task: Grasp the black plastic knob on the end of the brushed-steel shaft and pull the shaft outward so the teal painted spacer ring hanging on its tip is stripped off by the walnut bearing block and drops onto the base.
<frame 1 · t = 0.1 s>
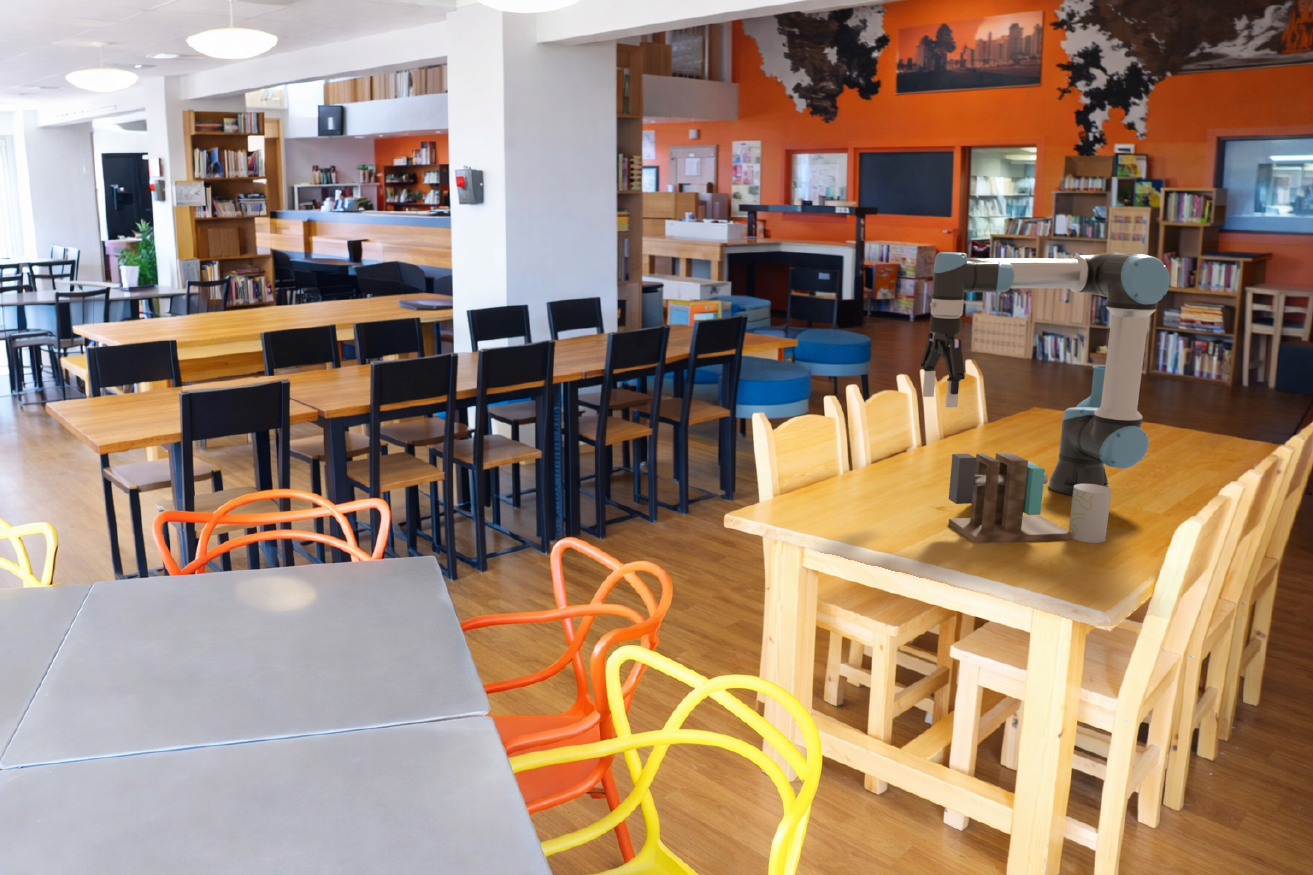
hand: (939, 401, 259), 28 cm above the table, fingers open, 13 cm apart
stand: (1008, 531, 249), on the table
shaft: (1000, 477, 245), point 14 cm above the table, slide at 0.0 cm, touching spacer
cup: (1086, 538, 246), on the table
spacer: (1022, 508, 248), point 6 cm above the table, touching shaft
vase: (1095, 441, 347), on the table
soda can: (984, 508, 269), on the table
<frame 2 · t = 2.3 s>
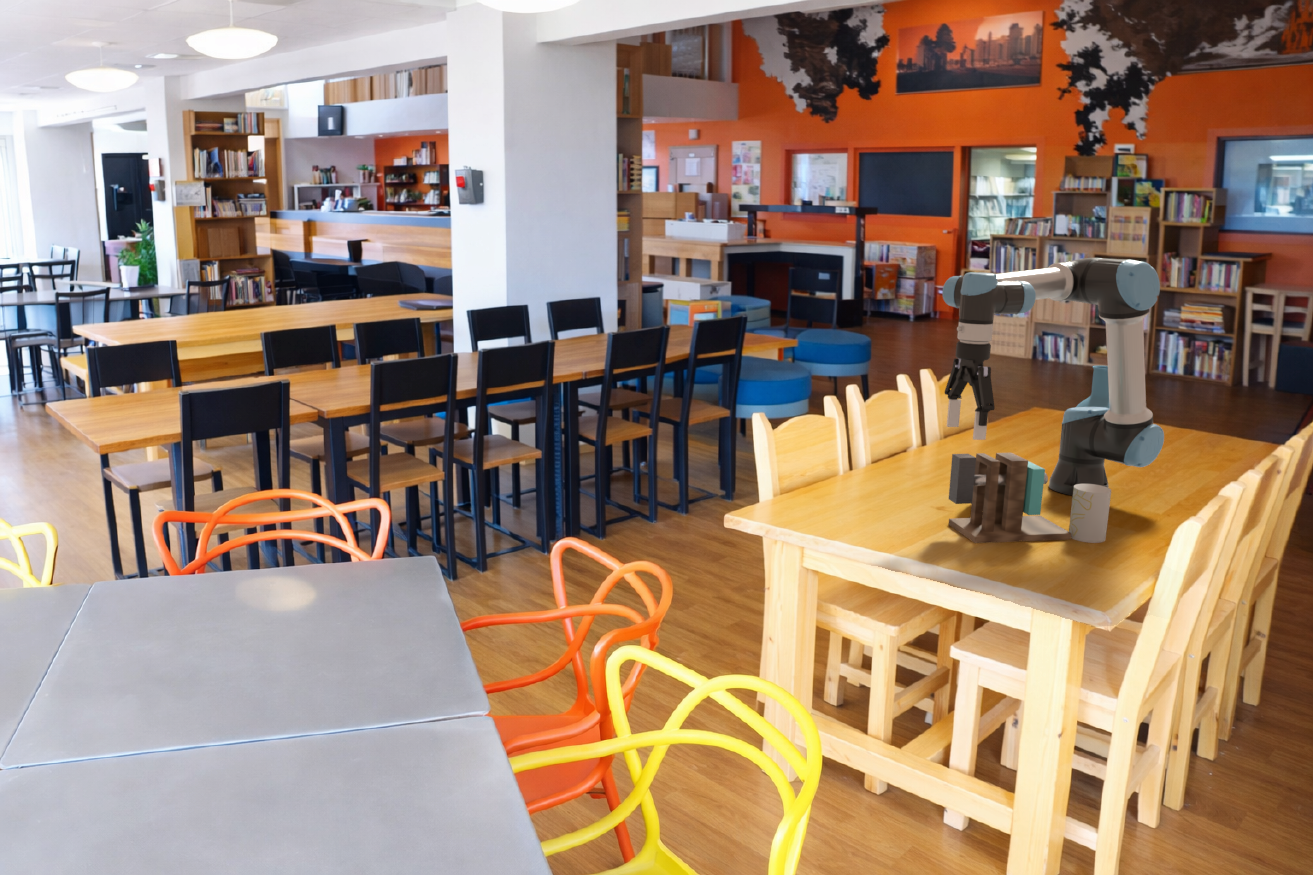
hand: (965, 432, 241), 24 cm above the table, fingers open, 13 cm apart
nothing on the table moved.
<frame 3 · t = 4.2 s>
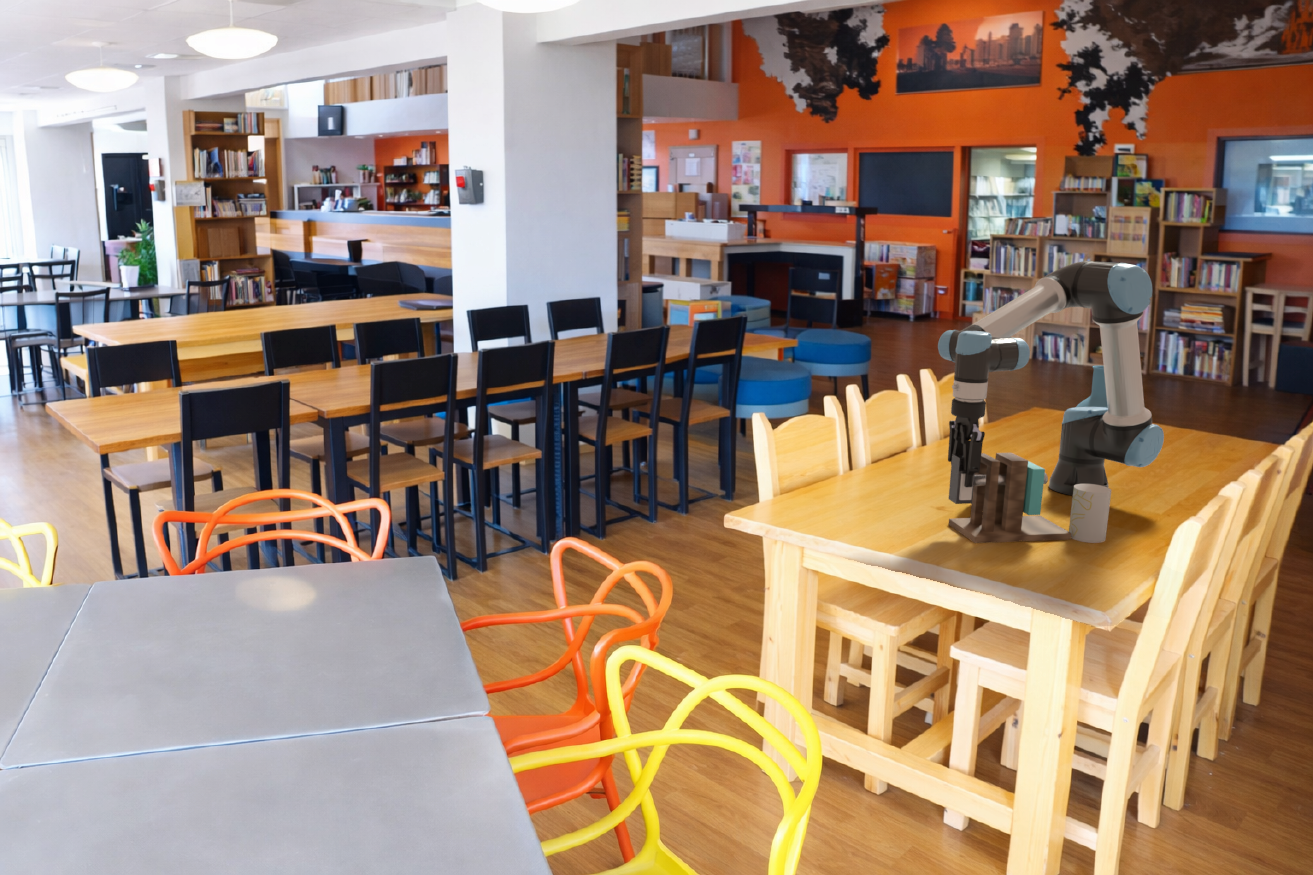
hand: (960, 496, 245), 9 cm above the table, fingers closed on shaft, 4 cm apart
shaft: (1000, 477, 245), point 14 cm above the table, slide at 0.0 cm, touching gripper, spacer
everything else where it was.
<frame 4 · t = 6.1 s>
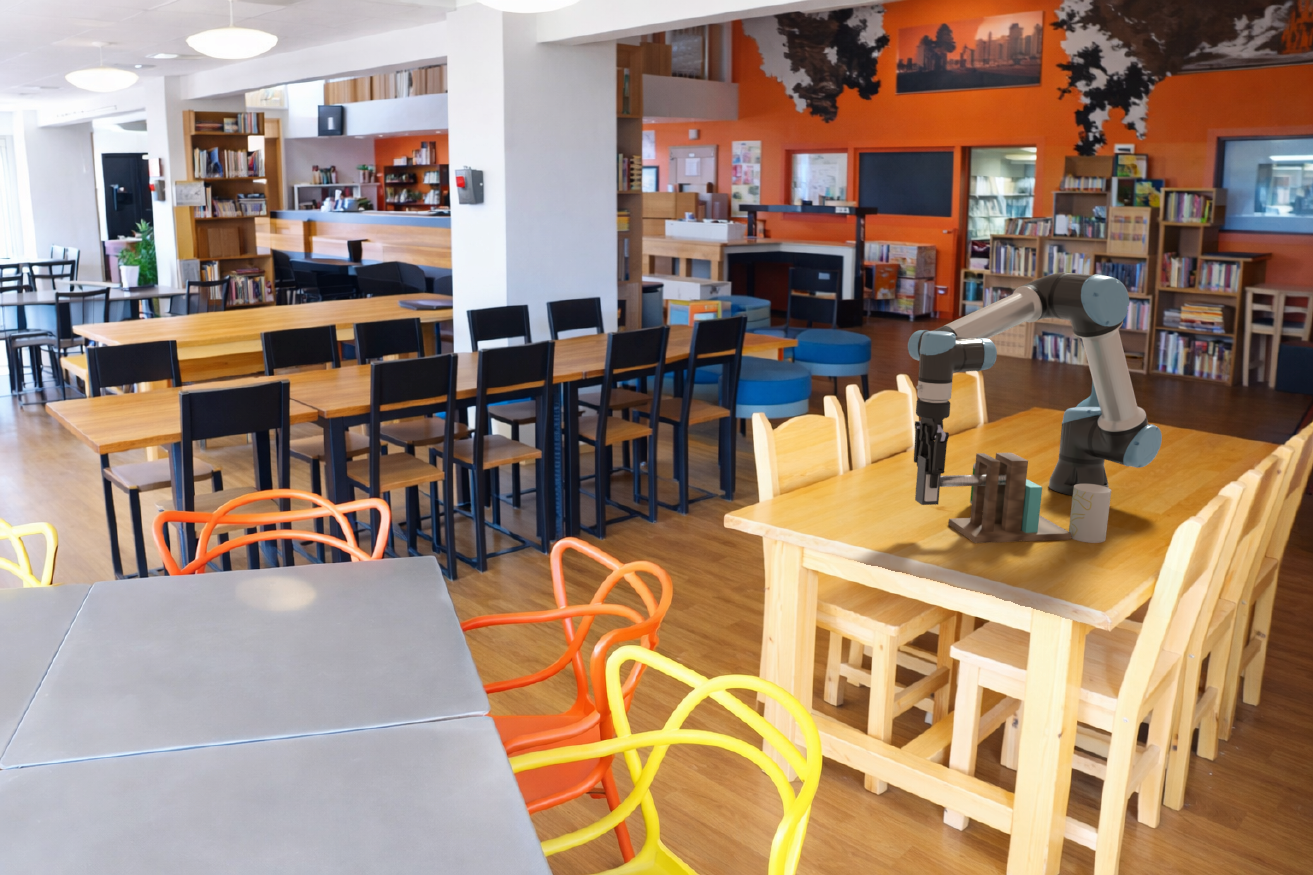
hand: (926, 497, 243), 9 cm above the table, fingers closed on shaft, 4 cm apart
shaft: (966, 478, 244), point 14 cm above the table, slide at 8.4 cm, touching gripper
spacer: (1019, 525, 249), point 1 cm above the table, touching stand
everything else where it was.
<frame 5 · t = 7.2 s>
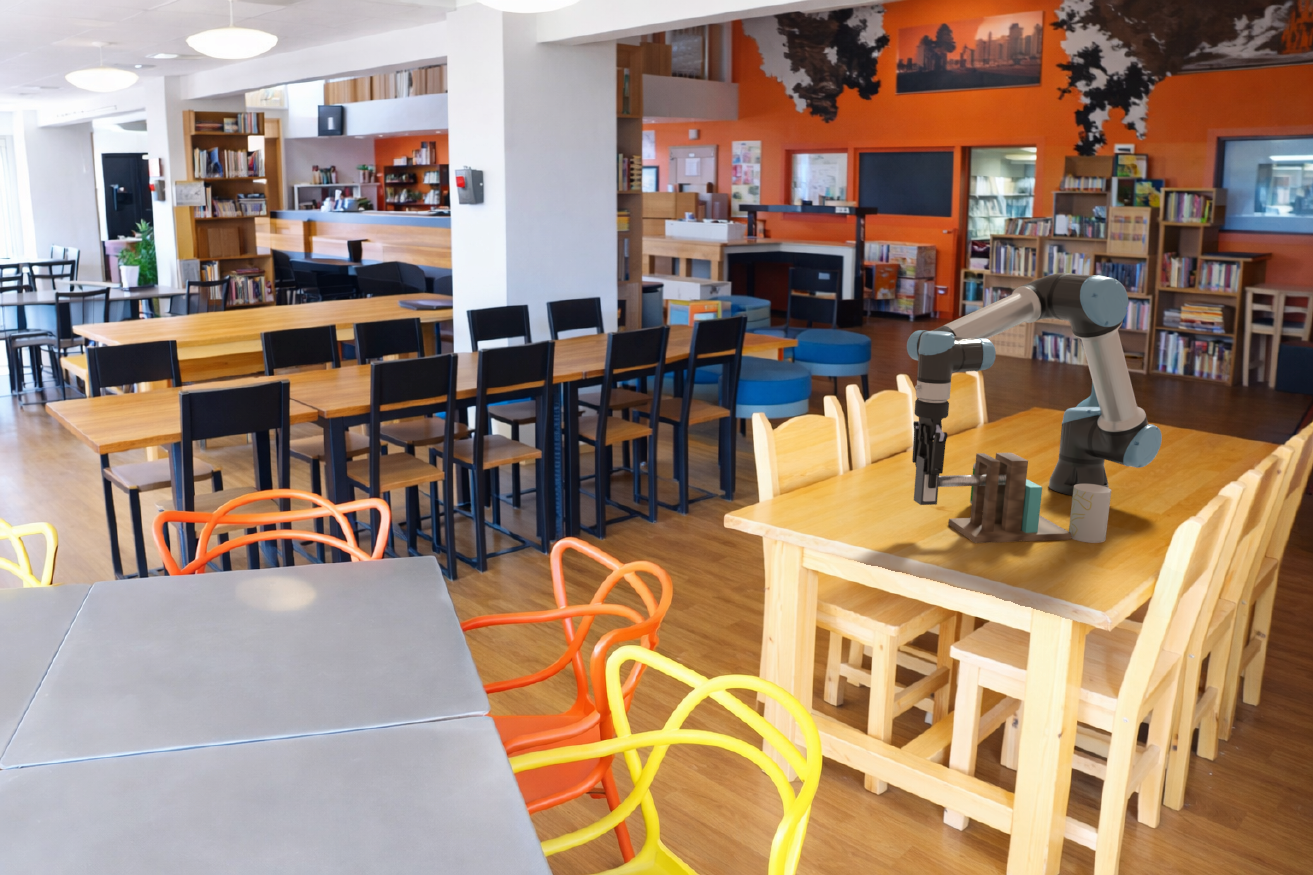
hand: (924, 497, 243), 9 cm above the table, fingers closed on shaft, 4 cm apart
shaft: (965, 478, 244), point 14 cm above the table, slide at 8.7 cm, touching gripper
everything else where it was.
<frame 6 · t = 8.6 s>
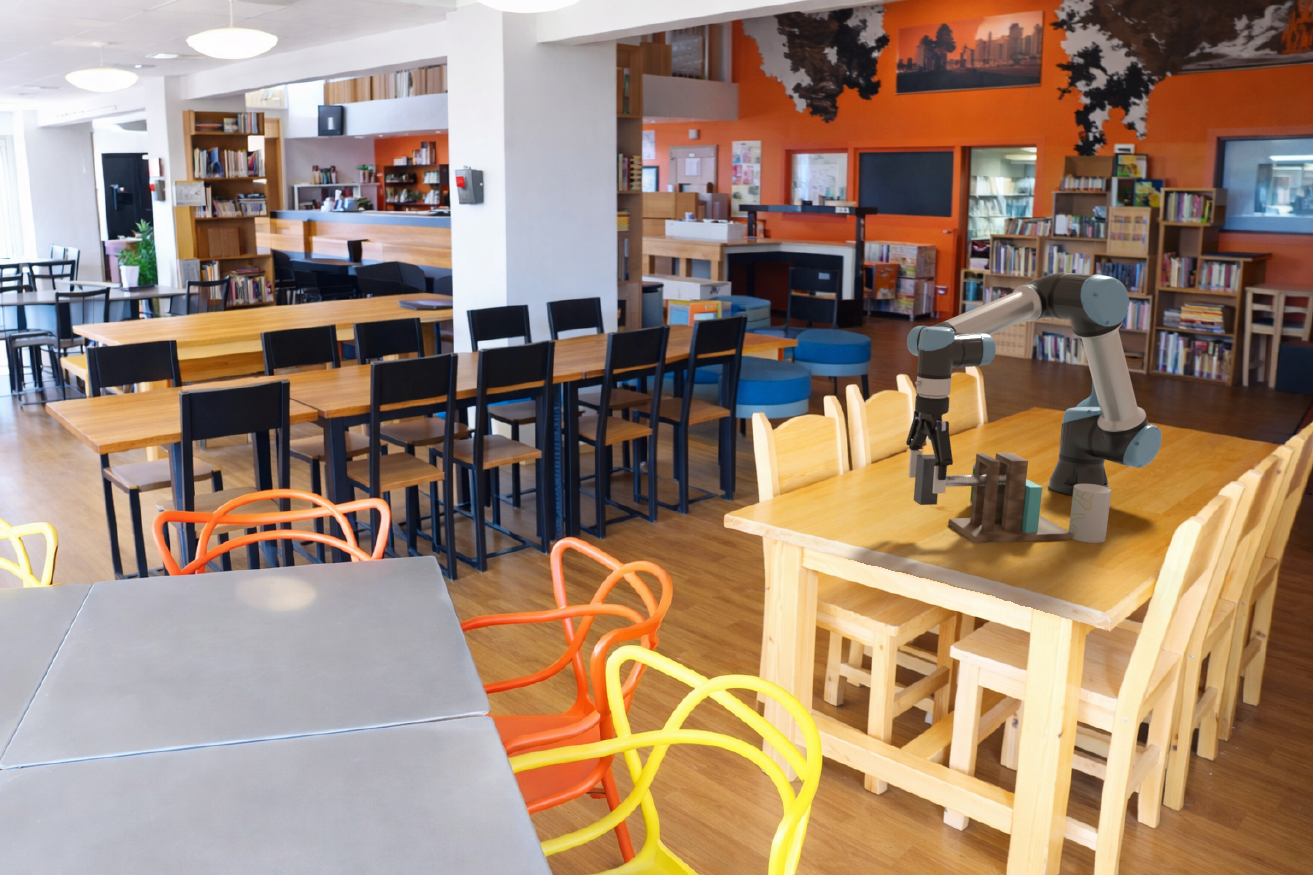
hand: (926, 484, 242), 12 cm above the table, fingers open, 13 cm apart
shaft: (965, 478, 244), point 14 cm above the table, slide at 8.7 cm
everything else where it was.
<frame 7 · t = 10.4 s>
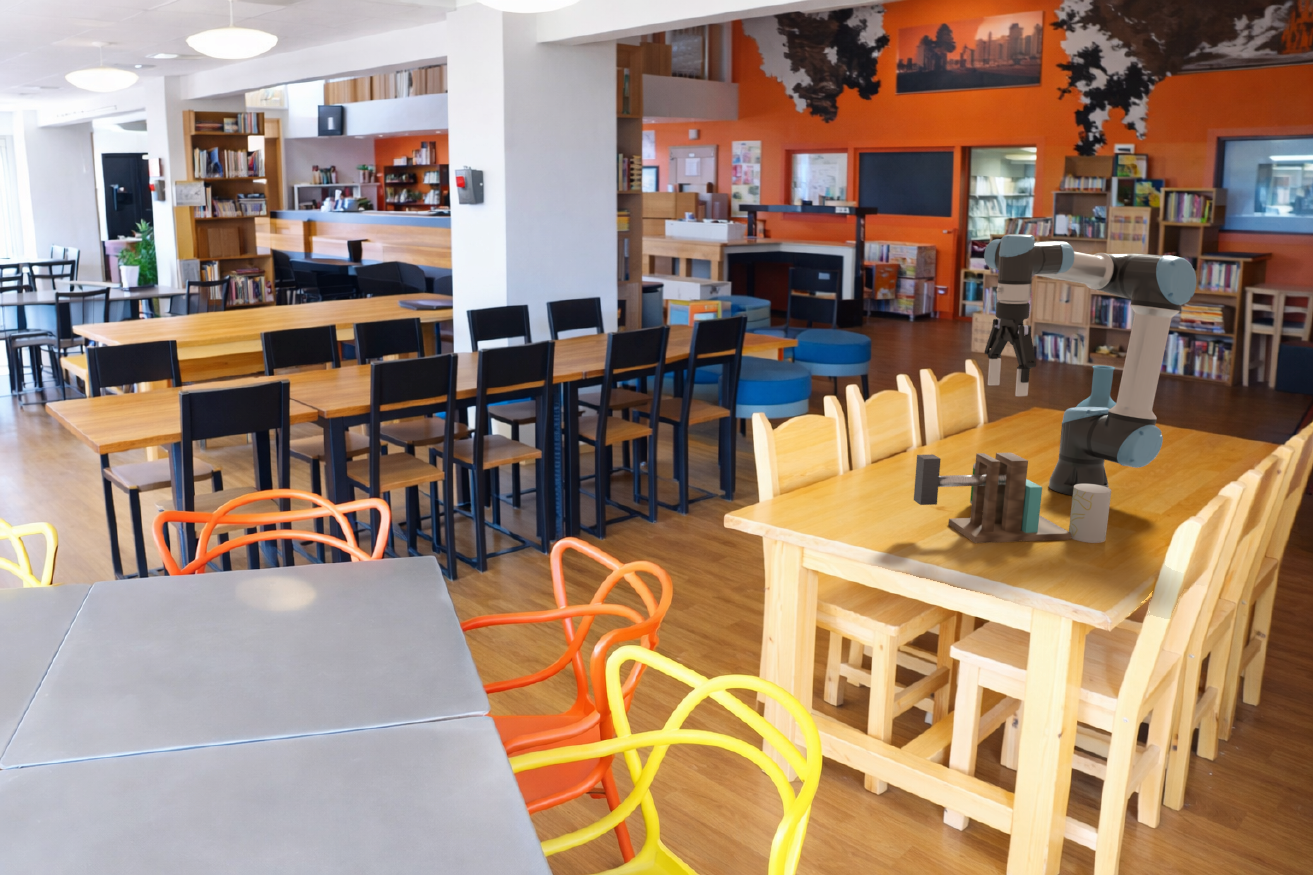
hand: (1007, 390, 250), 33 cm above the table, fingers open, 13 cm apart
nothing on the table moved.
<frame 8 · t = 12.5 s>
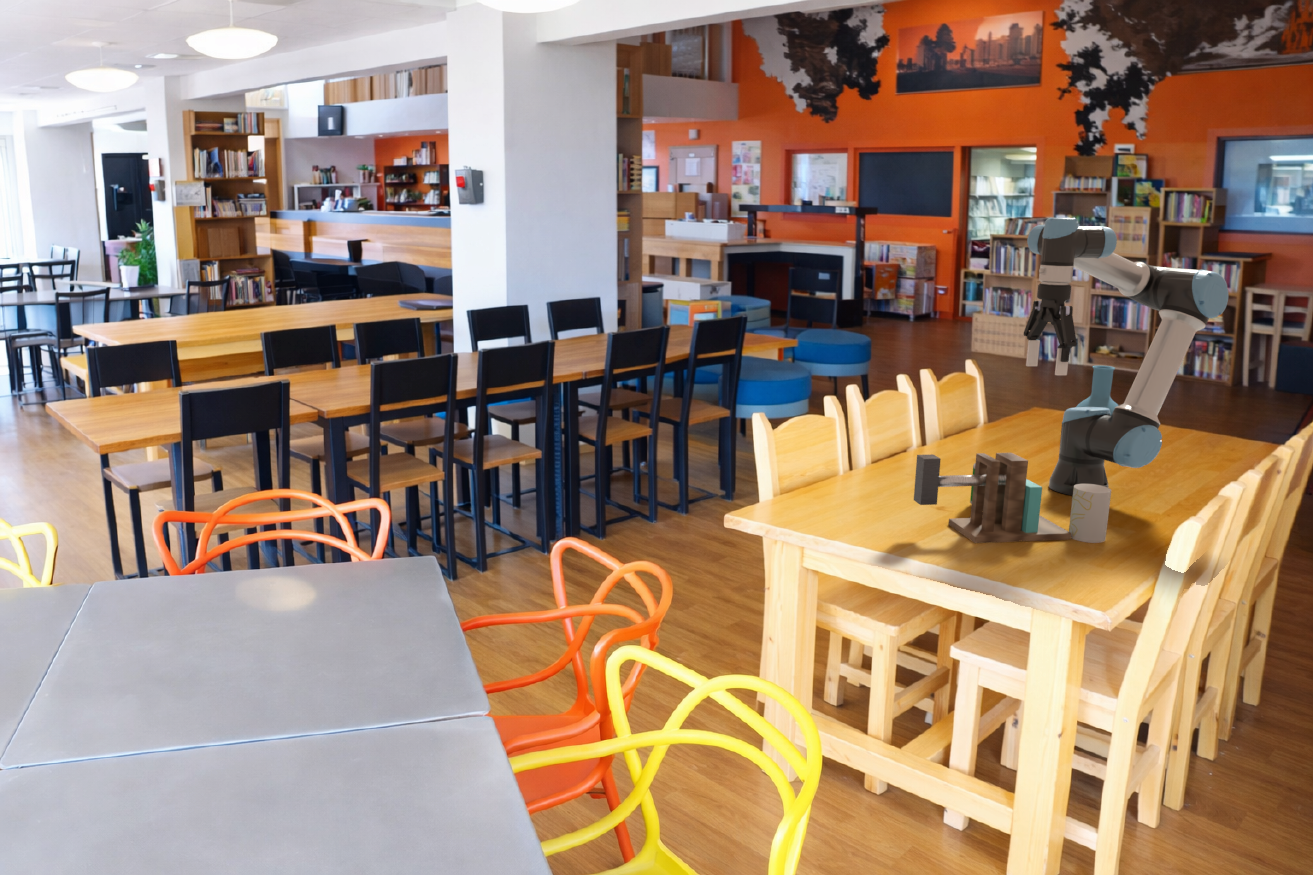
hand: (1045, 370, 255), 37 cm above the table, fingers open, 13 cm apart
nothing on the table moved.
at the end: shaft slide at 8.7 cm; spacer point 1.5 cm above the table; spacer 2.8 cm from the stand (horizontally) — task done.
